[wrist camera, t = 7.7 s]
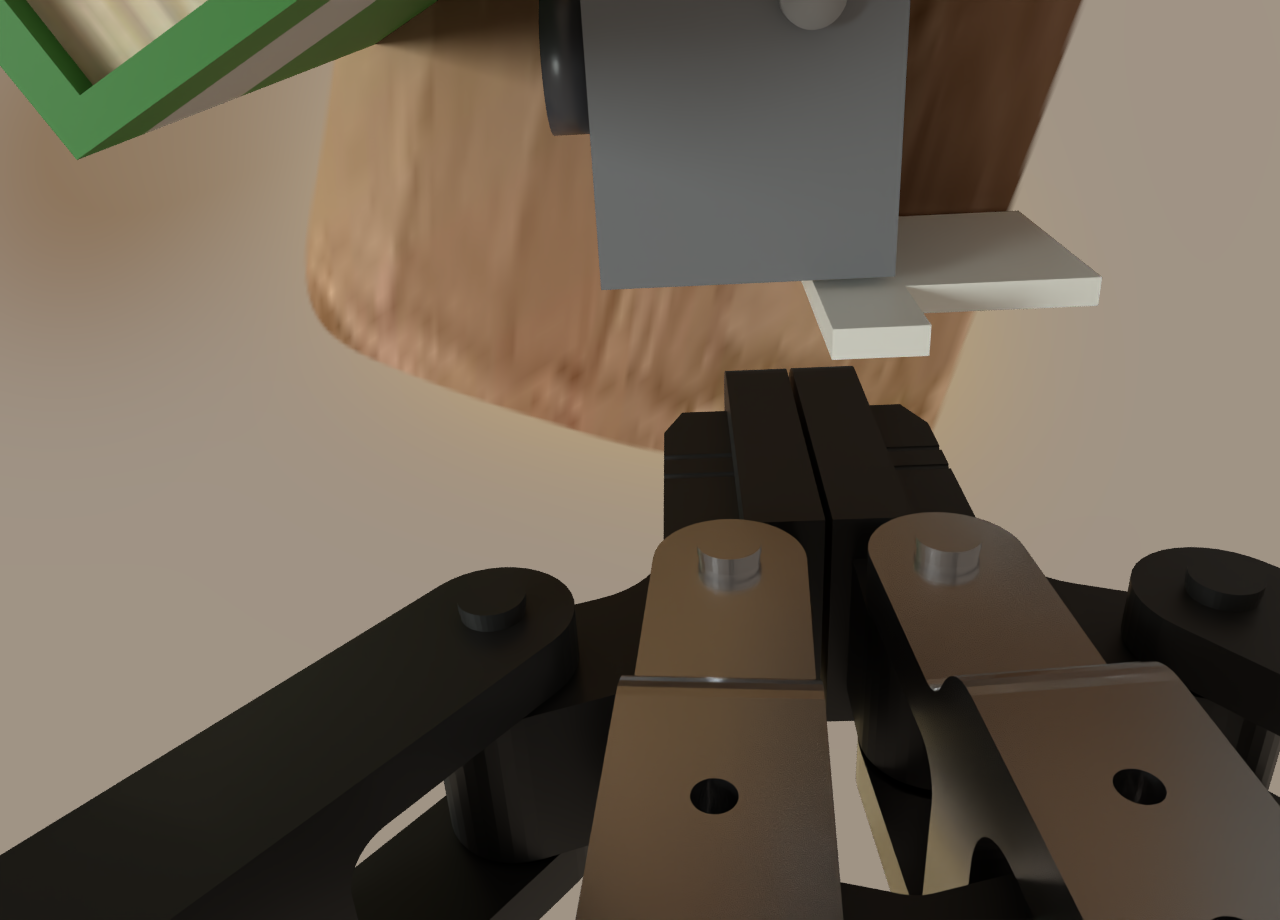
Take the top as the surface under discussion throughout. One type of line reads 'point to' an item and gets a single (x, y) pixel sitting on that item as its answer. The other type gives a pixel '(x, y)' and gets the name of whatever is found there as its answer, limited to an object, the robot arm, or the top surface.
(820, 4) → the camera housing
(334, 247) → the top surface
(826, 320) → the side door
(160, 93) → the hardback book
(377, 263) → the top surface
